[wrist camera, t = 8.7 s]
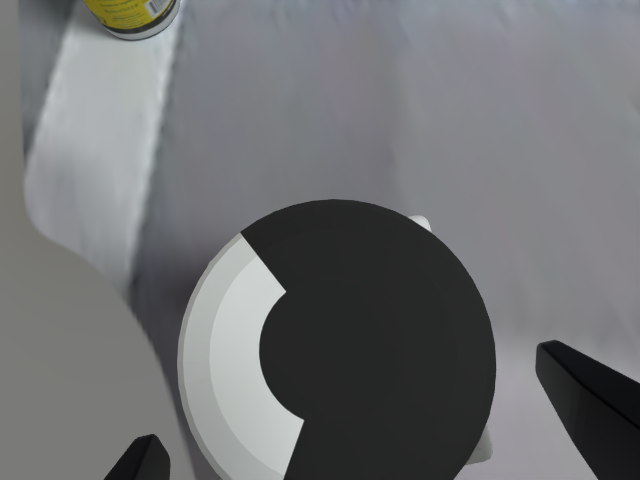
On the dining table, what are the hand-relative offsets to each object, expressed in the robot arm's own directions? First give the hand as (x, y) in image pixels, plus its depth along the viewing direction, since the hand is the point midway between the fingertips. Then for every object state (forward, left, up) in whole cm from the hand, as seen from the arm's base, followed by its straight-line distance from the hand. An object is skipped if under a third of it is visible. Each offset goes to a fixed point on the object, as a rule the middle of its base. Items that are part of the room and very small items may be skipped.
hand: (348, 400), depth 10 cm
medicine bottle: (+1, -1, -9) cm, 9 cm away
